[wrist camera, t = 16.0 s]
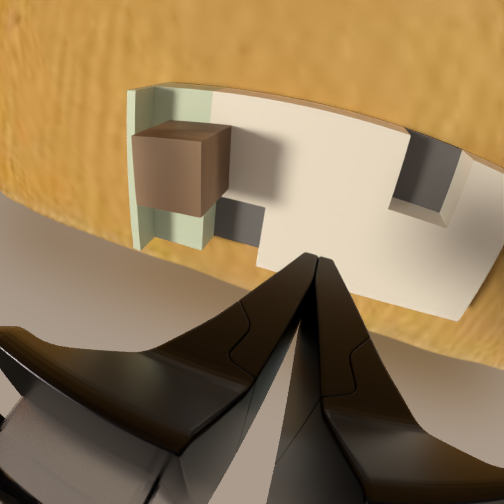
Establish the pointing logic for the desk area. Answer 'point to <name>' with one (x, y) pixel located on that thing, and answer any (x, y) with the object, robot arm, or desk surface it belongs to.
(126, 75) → the desk surface
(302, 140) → the board
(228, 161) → the walnut block
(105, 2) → the desk surface
